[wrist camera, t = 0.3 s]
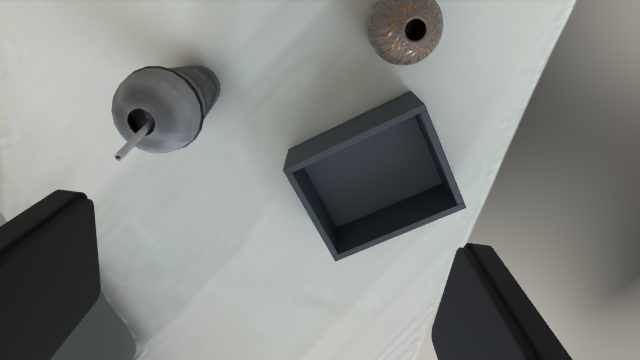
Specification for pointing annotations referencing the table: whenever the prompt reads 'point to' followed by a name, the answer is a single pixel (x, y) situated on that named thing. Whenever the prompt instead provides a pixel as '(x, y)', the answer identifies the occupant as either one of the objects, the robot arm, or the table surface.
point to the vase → (405, 29)
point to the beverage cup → (163, 107)
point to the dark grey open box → (374, 177)
